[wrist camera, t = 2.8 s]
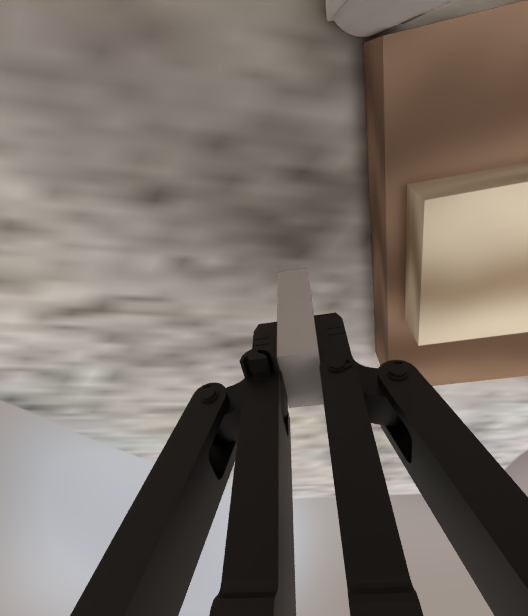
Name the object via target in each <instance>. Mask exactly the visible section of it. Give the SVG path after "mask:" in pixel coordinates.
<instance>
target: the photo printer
mask: <svg viewBox="0 0 528 616" xmlns="http://www.w3.org/2000/svg"><path fill="white" fill-rule="evenodd" d="M451 1H454V0H326V15H327V20H328V21H335V23H336V24H337V25H338V26H339V27H340V28H341V29H342V30H343V31H345V32H346V33H348V34H350V35H353V36H357V37H369V36H373V35H376V34H378V33H381V32H383V31H385V30H387V29H389V28H391V27H393V26H395V25H398V24H402V23H405V22H408V21H410V20H412V19H415V18H416V17H419V16H420V15H423V14H425V13H427V12H429V11H432V10H434V9H436V8H438V7H440V6H442V5H444V4H447V3H449V2H451Z"/></svg>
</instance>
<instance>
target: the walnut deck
mask: <svg viewBox="0 0 528 616" xmlns="http://www.w3.org/2000/svg"><path fill="white" fill-rule="evenodd" d="M363 48H364V72H365V97H366V121H367V145H368V170H369V194H370V218H371V243H372V267H373V291H374V315H375V340H376V354H377V357H378V360H379V363H380V366H381V365H382V364H383V363H385V362H387V361H390V360H403V361H406V362H409V363H411V364H412V365H413V366H415V367H416V368H417V370H418V371H419V372H420V373H421V374H422V375H423V376H424V378H425V379H426V380H427V381H428V382H429V383H430V385H431V386H436V385H445V384H454V383H464V382H473V381H482V380H491V379H500V378H509V377H518V376H528V332H524V333H516V334H508V335H500V336H492V337H484V338H476V339H468V340H460V341H452V342H445V343H437V344H429V345H421V346H418V344H417V342H416V340H415V338H414V336H413V334H412V332H411V330H410V328H409V326H408V324H407V322H406V320H405V283H406V219H407V185H408V184H413V183H418V182H424V181H429V180H434V179H440V178H445V177H450V176H456V175H461V174H466V173H472V172H477V171H482V170H488V169H493V168H498V167H504V166H509V165H514V164H520V163H525V162H528V0H525V1H521V2H517V3H513V4H509V5H505V6H501V7H497V8H493V9H489V10H485V11H481V12H477V13H473V14H469V15H465V16H461V17H457V18H453V19H449V20H445V21H441V22H437V23H432V24H428V25H424V26H420V27H416V28H412V29H408V30H404V31H400V32H396V33H392V34H388V35H384V36H381V37H378V38H375V39H372V40H370V41H367V42H364V43H363Z"/></svg>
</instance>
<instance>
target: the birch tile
mask: <svg viewBox="0 0 528 616" xmlns="http://www.w3.org/2000/svg"><path fill="white" fill-rule="evenodd" d="M405 320H406V322H407V324H408V326H409V328H410V330H411V332H412V334H413V336H414V338H415V340H416V342H417V344H418V346H421V345H429V344H437V343H445V342H452V341H460V340H468V339H476V338H484V337H492V336H500V335H508V334H516V333H524V332H528V162H525V163H520V164H514V165H509V166H504V167H498V168H493V169H488V170H482V171H477V172H472V173H466V174H461V175H456V176H450V177H445V178H440V179H434V180H429V181H424V182H418V183H413V184H408V185H407V219H406V283H405Z"/></svg>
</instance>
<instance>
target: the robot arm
mask: <svg viewBox="0 0 528 616" xmlns="http://www.w3.org/2000/svg"><path fill="white" fill-rule="evenodd" d="M252 346H253V347H252V349H251V350H249V351H248V352H246V353H245V354H244V355H243V356H242V357H241V359H240V364H241V367H242V370H243V373H244V376H245V378H244V379H243V380H242V381H241V382H239V383H237V384H235V385H233V386H230V387H227V388H225V387H224V386H223V385H222V384H220V383H208V384H206V385H203V386H202V387H200V388H199V389H197V391H196V392H195V393H194V394H193V396H192V398H191V400H190V402H189V403H188V405H187V407H186V409H185V411H184V412H183V414H182V416H181V418H180V419H179V421H178V423H177V425H176V427H175V428H174V430H173V432H172V434H171V436H170V437H169V439H168V441H167V443H166V445H165V446H164V448H163V450H162V452H161V454H160V455H159V457H158V459H157V461H156V463H155V464H154V466H153V468H152V470H151V472H150V473H149V475H148V477H147V479H146V481H145V482H144V484H143V486H142V488H141V490H140V491H139V493H138V495H137V497H136V498H135V500H134V502H133V504H132V506H131V507H130V509H129V511H128V513H127V515H126V516H125V518H124V520H123V522H122V524H121V526H120V527H119V529H118V531H117V533H116V534H115V536H114V538H113V540H112V541H111V543H110V545H109V547H108V549H107V550H106V552H105V554H104V556H103V558H102V559H101V561H100V563H99V565H98V567H97V569H96V570H95V572H94V574H93V576H92V578H91V579H90V581H89V583H88V585H87V586H86V588H85V590H84V592H83V594H82V595H81V597H80V599H79V601H78V602H77V604H76V606H75V608H74V610H73V611H72V613H71V615H70V616H178V615H179V612H180V609H181V606H182V604H183V601H184V598H185V596H186V593H187V590H188V587H189V585H190V582H191V579H192V576H193V574H194V571H195V568H196V566H197V563H198V560H199V557H200V555H201V552H202V549H203V546H204V544H205V541H206V538H207V536H208V533H209V530H210V527H211V524H212V522H213V519H214V517H215V514H216V511H217V508H218V506H219V503H220V500H221V497H222V495H223V492H224V489H225V487H226V484H227V481H228V478H229V476H230V473H231V470H232V467H233V465H234V462H235V468H234V476H233V485H232V494H231V504H230V512H229V520H228V530H227V538H226V547H225V556H224V565H223V573H222V582H221V588H220V592H219V594H218V595H217V596H216V597H215V599H214V600H213V603H212V606H211V611H210V616H296V599H295V568H294V536H293V502H292V470H291V437H290V417H289V413H288V405H289V408H292V407H302V406H311V405H320V404H324V408H325V416H326V424H327V432H328V439H329V447H330V455H331V463H332V471H333V478H334V486H335V494H336V501H337V509H338V517H339V525H340V533H341V541H342V548H343V556H344V564H345V572H346V580H347V588H348V598H349V607H350V616H423V613H422V609H421V606H420V602H419V599H418V596H417V593H416V591H415V590H414V588H413V586H412V583H411V580H410V576H409V572H408V568H407V564H406V560H405V556H404V553H403V549H402V545H401V541H400V537H399V533H398V529H397V525H396V522H395V517H394V513H393V510H392V505H391V502H390V498H389V494H388V490H387V486H386V482H385V478H384V474H383V470H382V466H381V462H380V458H379V454H378V450H377V446H376V442H375V439H374V435H373V431H372V427H371V423H374V424H380V425H381V428H382V429H383V431H384V433H385V434H386V436H387V438H388V439H389V441H390V443H391V444H392V446H393V448H394V449H395V451H396V453H397V454H398V456H399V458H400V459H401V461H402V463H403V464H404V466H405V468H406V469H407V471H408V473H409V474H410V476H411V478H412V479H413V481H414V483H415V484H416V486H417V488H418V489H419V491H420V493H421V494H422V496H423V498H424V499H425V501H426V503H427V504H428V506H429V507H430V509H431V511H432V513H433V514H434V516H435V517H436V519H437V521H438V523H439V524H440V526H441V527H442V529H443V531H444V532H445V534H446V536H447V537H448V539H449V541H450V542H451V544H452V546H453V547H454V549H455V551H456V552H457V554H458V556H459V557H460V559H461V561H462V562H463V564H464V566H465V567H466V569H467V571H468V572H469V574H470V575H471V577H472V579H473V580H474V582H475V584H476V586H477V587H478V589H479V591H480V592H481V594H482V596H483V597H484V599H485V601H486V602H487V604H488V606H489V607H490V609H491V611H492V612H493V614H494V616H528V497H527V496H526V495H525V493H524V492H523V491H522V490H521V489H520V488H519V487H518V485H517V484H516V483H515V482H514V481H513V480H512V478H511V477H510V476H509V475H508V474H507V473H506V471H505V470H504V469H503V468H502V467H501V466H500V465H499V463H498V462H497V461H496V460H495V459H494V458H493V456H492V455H491V454H490V453H489V452H488V451H487V449H486V448H485V447H484V446H483V445H482V444H481V443H480V441H479V440H478V439H477V438H476V437H475V436H474V434H473V433H472V432H471V431H470V430H469V429H468V427H467V426H466V425H465V424H464V423H463V422H462V420H461V419H460V418H459V417H458V416H457V415H456V414H455V412H454V411H453V410H452V409H451V408H450V407H449V405H448V404H447V403H446V402H445V401H444V400H443V398H442V397H441V396H440V395H439V394H438V393H437V392H436V390H435V389H434V388H433V387H432V386H431V385H430V383H429V382H428V381H427V380H426V379H425V378H424V376H423V375H422V374H421V373H420V372H419V371H418V370H417V368H416V367H415V366H413V365H412V364H411V363H409V362H406V361H403V360H390V361H387V362H385V363H383V364H382V365H381V366H380V367H379V368H370V367H365V366H363V365H360V364H358V363H357V362H356V361H355V360H354V359H353V357H352V355H351V351H350V347H349V343H348V339H347V335H346V331H345V328H344V324H343V320H342V318H341V317H340V316H339V315H338V314H337V313H329V314H322V315H315V316H314V311H313V304H312V298H311V291H310V285H309V278H308V272H307V268H301V269H295V270H289V271H283V272H278V305H277V322H271V323H264V324H259V325H258V326H257V328H256V329H255V331H254V335H253V345H252Z"/></svg>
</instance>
